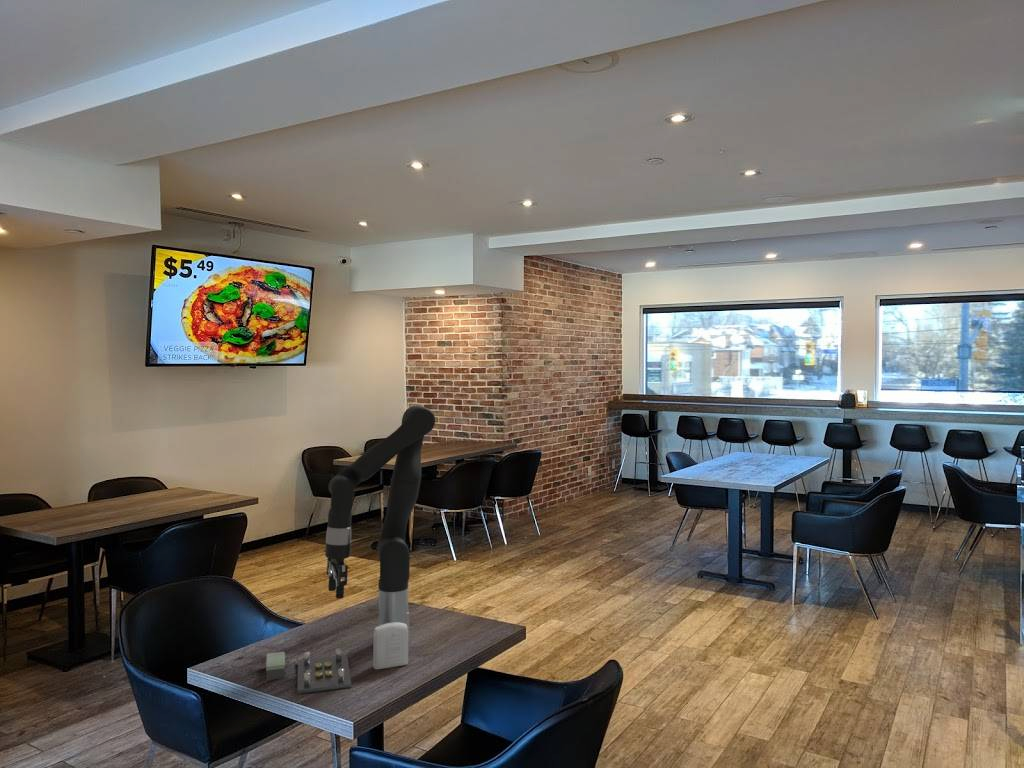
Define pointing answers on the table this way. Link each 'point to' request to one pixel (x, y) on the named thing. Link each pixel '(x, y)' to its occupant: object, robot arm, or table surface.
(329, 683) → the plate
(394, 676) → the table surface
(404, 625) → the photo printer
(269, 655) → the grey green block
